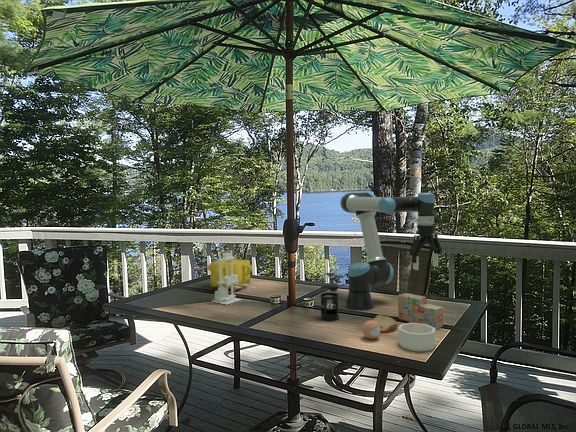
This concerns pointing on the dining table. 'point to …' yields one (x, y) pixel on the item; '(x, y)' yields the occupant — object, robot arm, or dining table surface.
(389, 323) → the slice of bread
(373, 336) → the toy ball
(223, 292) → the machine
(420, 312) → the stack of blocks
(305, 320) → the dining table surface
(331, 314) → the french press
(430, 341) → the white bowl
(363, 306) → the robot arm
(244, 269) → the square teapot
